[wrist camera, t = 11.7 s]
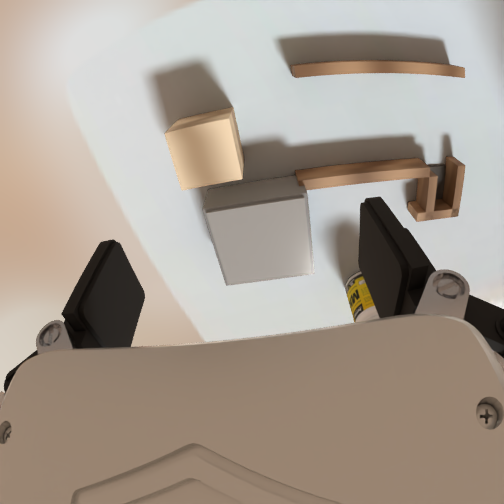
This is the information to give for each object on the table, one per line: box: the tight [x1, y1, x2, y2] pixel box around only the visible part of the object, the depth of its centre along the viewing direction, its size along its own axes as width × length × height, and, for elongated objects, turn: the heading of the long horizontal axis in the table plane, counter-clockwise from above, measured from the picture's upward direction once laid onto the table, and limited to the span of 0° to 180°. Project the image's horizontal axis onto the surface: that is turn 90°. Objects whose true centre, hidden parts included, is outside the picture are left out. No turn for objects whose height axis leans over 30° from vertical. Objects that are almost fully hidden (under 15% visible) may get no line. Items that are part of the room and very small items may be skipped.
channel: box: [291, 60, 465, 222], centre depth 25 cm, size 18×16×2 cm
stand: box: [203, 175, 314, 286], centre depth 30 cm, size 9×9×4 cm
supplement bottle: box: [346, 272, 379, 322], centre depth 34 cm, size 5×5×8 cm
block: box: [164, 107, 244, 190], centre depth 25 cm, size 5×5×5 cm
